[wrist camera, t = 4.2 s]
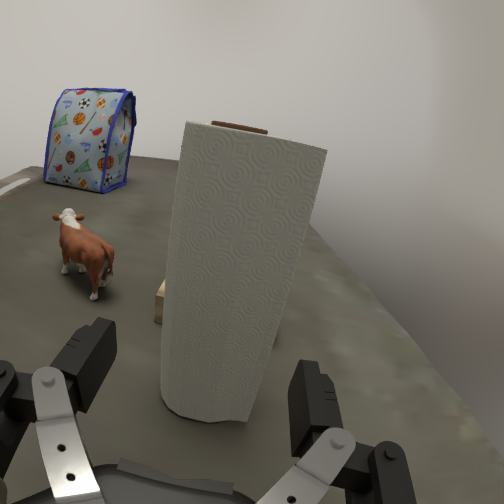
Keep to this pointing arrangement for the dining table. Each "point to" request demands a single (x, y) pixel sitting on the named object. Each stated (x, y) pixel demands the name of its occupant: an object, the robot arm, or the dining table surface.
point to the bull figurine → (85, 250)
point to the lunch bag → (90, 138)
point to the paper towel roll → (231, 263)
